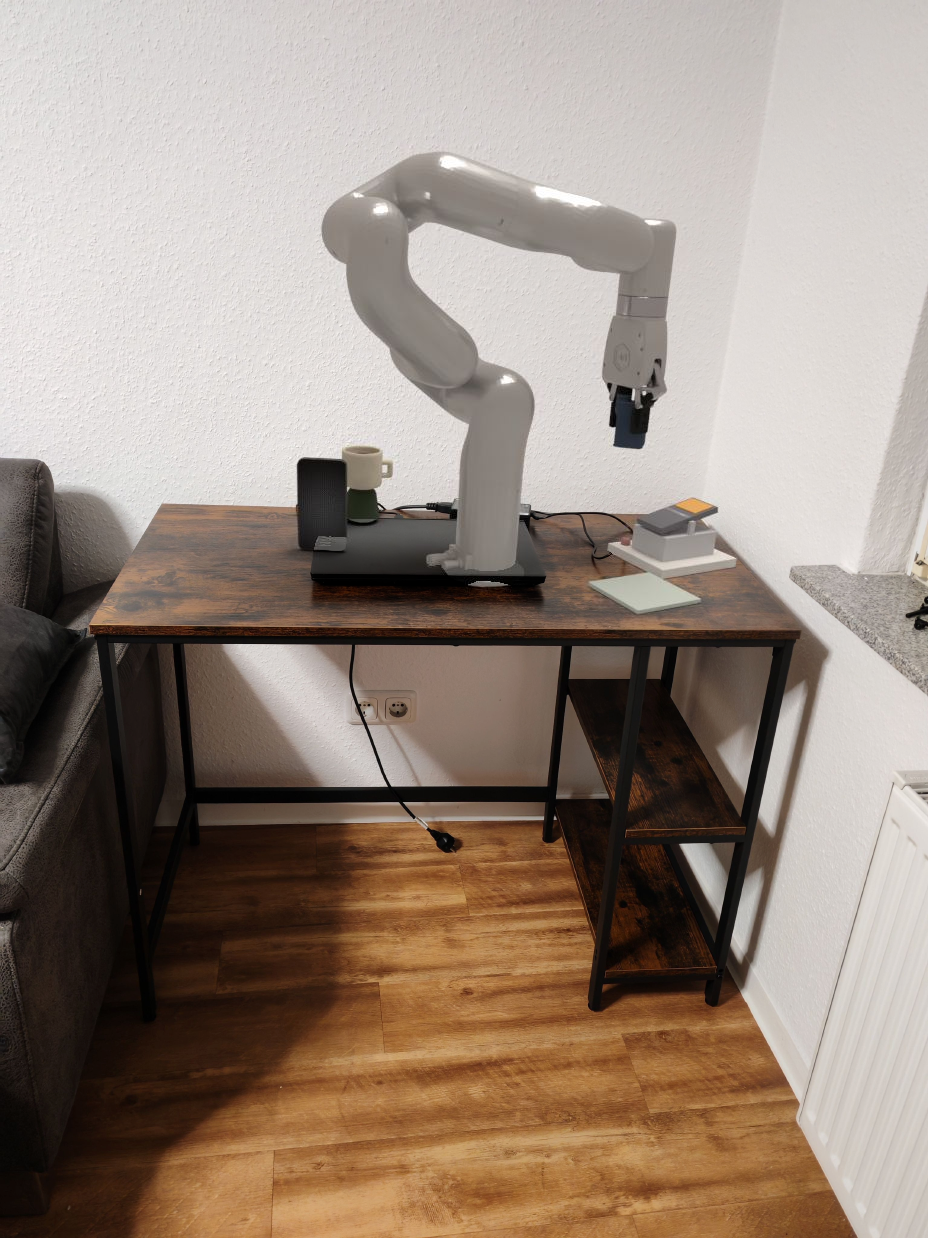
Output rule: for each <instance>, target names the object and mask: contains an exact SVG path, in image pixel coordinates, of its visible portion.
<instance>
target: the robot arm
mask: <svg viewBox="0 0 928 1238" xmlns="http://www.w3.org/2000/svg"><path fill="white" fill-rule="evenodd" d="M427 223H429V224H430V223H431V224H437V225H441V226H445V227H449V228H451V229H454V230H458V231H461V232H462V233H467V234H470V235H474V236H477V237H480V238H483V239H485V240H489V241H491V242H495V243H497V244H501V245H504V246H506V247H510V248H513V249H517V250H518V249H519V250H523V251H526V252H527V251H528V252H533V253H544V254H554V255H560V256H564V257H568V258H570V259H571V260H572V261H573V262H574V264H576V265H577V266H578V267H580V268H582V269H584V270H586V271H587V270H588V271H591V272H592V271H593V272H600V273H611V274H616V275H619V277H618V279H619V280H618V287H617V298H616V299H617V300H616V308H615V315H612V318H611V321H610V324H609V328H608V331H607V337H606V342H605V347H604V355H603V361H602V366H601V367H602V368H601V369H602V371H601V378H602V380H603V382H604V384H605V385H606V388H607V389H606V390H607V391H608V394H609V396H608V400H609V401H610V409H609V410H610V411H609V421H608V427H610V428H613V429H614V428H616V419H617V416H616V413H615V406H616V400H617V390H618V385H621V386H625V387H629V388H633V390H634V398H635V406H636V408H632V414H631V423H630V433H631V434H643V433H646V434H647V433H648V432H649V431H648V430H649V426H650V425H649V423H650V415H651V409H652V408H654V407H655V403H656V402H657V401H658V400H659V398H661V397H662V396H663V395H665V394H666V393H667V391H668V389H667V385H666V382H665V374H666V368H667V357H668V356H667V355H668V321H667V312H668V304H669V294H670V287H671V279H672V273H673V263H674V257H675V248H676V247H675V246H676V241H677V239H676V238H677V226H676V223H674V222H673V221H672V220H669V219H663V218H642V217H640V216H638V215H637V214H634V213H632V212H628V211H627V210H623V209H621V208H618V207H616V206H613V205H610V204H606V203H604V202H601V201H598V200H594V199H591V198H588V197H584V196H581V195H577V194H574V193H570V192H567V191H564V190H560V189H558V188H555V187H551V186H549V185H545V184H541V183H538V182H535V181H532V180H528V179H526V178H523V177H520V176H518V175H514V174H512V173H508V172H506V171H503V170H500V169H498V168H495V167H493V166H490V165H487V164H485V163H481V162H479V161H477V160H474V159H471V158H468V157H465V156H463V155H460V154H457V153H453V152H450V151H434V152H425V153H424V152H423V153H418V154H413V155H411V156H409V157H407V158H404V159H403V160H401V161H400V162H398V163H396V164H395V165H393V166H391V167H389V168H388V169H386V170H384V171H383V172H381V173H380V174H378V175H376V176H375V177H373V178H371V179H370V180H368V181H366V182H365V183H363V184H361V185H359V186H357V187H356V188H354V189H352V190H350V191H349V192H347V193H346V194H344V195H343V196H341V197H339V198H337V199H336V200H335V201H334V202H332V204H331V205H330V206H329V207H328V208H327V209H326V212H325V214H324V215H323V218H322V221H321V238H322V242H323V245H324V247H325V249H326V250H327V251H328V253H329V254H330V255H331V256H332V257H333V258H334V259H335V260H337V261H338V262H340V263H341V264H343V265H345V266H346V268H345V269H346V270H345V275H346V284H347V289H348V294H349V297H350V301H351V304H352V307H353V309H354V311H355V313H356V315H357V316H358V318H359V319H360V321H361V323H363V324H364V326H366V327H367V329H368V330H370V332H371V333H372V334H373V335H374V336H375V337H377V338H378V339H379V340H380V341H381V342H382V343H383V344H384V345H385V346H387V348H388V349H389V355H390V358H391V360H392V363H393V364H394V366H395V367H396V369H397V370H398V371H399V373H400V374H401V375H402V376H403V377H405V378H406V380H408V381H409V382H410V383H412V384H413V385H414V386H415V387H416V388H418V389H419V390H420V391H421V392H422V393H423V394H424V395H426V396H427V397H428V398H429V399H430V400H432V401H433V402H434V403H435V404H436V405H437V406H439V407H441V409H443V410H444V411H445V412H446V413H448V414H449V415H451V417H454V418H455V419H457V420H459V421H461V422H463V423H465V424H467V425H468V428H467V432H466V435H465V439H464V441H463V444H462V449H461V452H460V460H459V471H458V472H459V473H458V474H459V475H458V476H459V480H458V495H457V496H458V497H457V510H456V511H457V516H456V531H455V532H456V533H455V543H450V544H449V547H448V548H449V549H448V550H445V551H444V553H443V552H442V553H431V554H427V555H426V557H425V558H426V560H425V561H426V565H427V564H429V565H430V566H434V567H436V566H435V565H441V564H442V565H441V569H442V568H443V569H444V570H447V569H452V568H464V569H465V570H467V569H475V570H479V571H498V570H504V569H507V568H510V567H512V566H513V565H514V564H515V561H516V559H517V550H518V549H517V548H518V547H517V546H518V536H519V535H518V534H519V523H520V522H519V521H520V511H521V502H522V501H521V500H522V491H523V490H522V488H523V474H524V466H525V465H524V464H525V457H526V456H525V455H526V448H527V443H528V439H529V435H530V431H531V428H532V423H533V420H534V415H535V408H536V407H535V406H536V405H535V403H536V401H535V400H536V399H535V395H534V392H533V389H532V387H531V386H530V384H529V382H528V381H527V380H526V379H525V378H524V377H523V376H522V375H521V374H520V373H518V372H517V371H514V370H513V369H511V368H507V367H506V366H505V367H504V366H501V365H499V364H495V363H492V362H488V361H485V360H483V359H482V358H481V357H480V356H479V351H478V347H477V344H476V342H475V340H474V339H473V337H472V336H471V334H470V332H468V331H467V329H465V327H464V326H462V325H461V324H460V323H458V322H457V321H456V320H455V319H454V318H452V317H451V316H450V315H449V314H448V313H447V312H445V310H443V309H442V308H441V307H440V306H439V305H438V304H437V303H435V302H434V301H433V299H431V297H429V296H428V295H427V294H426V293H425V292H424V291H423V290H422V288H421V287H420V286H418V284H417V283H416V282H415V280H414V279H413V276H412V274H411V272H410V268H409V258H408V257H409V256H408V255H409V254H408V253H409V245H410V244H409V243H410V241H409V240H410V238H409V237H410V235H409V234H410V233H412V232H414V231H415V230H417V229H418V228H420V227H421V226H422V225H424V224H427ZM644 392H645V394H644ZM643 395H645V396H644V397H643ZM443 569H442V570H443ZM444 570H443V571H444ZM468 586H471V587H479V588H487V587H503V586H509V585H508V584H504V583H500V582H491V581H476V582H474V583H471V584H468Z"/></svg>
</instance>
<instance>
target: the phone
mask: <svg viewBox="0 0 928 1238" xmlns="http://www.w3.org/2000/svg"><path fill="white" fill-rule="evenodd" d="M347 492H348V487H347V463H346V462H345V461H344V460H343V459H342V458H331V457H330V458H327V457H325V458H324V457H307V456H306V457H305V456H304V457H300V458H299V459H298V461H297V463H296V497H297V498H296V501H297V502H296V504H297V510H296V511H297V519H296V520H297V523H296V524H297V544H298V547H299V548H300V549H301V550H303V551H313V550H314V547H315V543H316V540H317V538H318V536H326V537H329V536H331V537H346V538H347V539H348V520H347Z"/></svg>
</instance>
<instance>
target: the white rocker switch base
mask: <svg viewBox="0 0 928 1238" xmlns="http://www.w3.org/2000/svg"><path fill="white" fill-rule="evenodd" d="M632 531H633V532H632V536H631V537H632V538H630V537H627V536H622V537H621V541H615V542H608V544H607V551H609V552H611V553H612V554H611V553H610V554H611V555H614V556H616V557H617V558H619V559H621V560H623V561H625V562H626V563H627V562H628V563H629V564H631V565H633V566H635V567H636V568H639V569H641V570H643V571H645V573H647V572H649V573H651V574H653V575H655V576H657V577H659V578H661V579H663V580H666V579H670V578H676V577H684V576H689V575H695V574H701V573H706V572H714V571H719V570H726V569H732V568H735V567H736V565H737V560H738V558H737V557H734V556H732V555H730V554H728V553H725V552H723V551H720V550H718V549H716V548H715V544H716V539H717V534H718V532H717V531H716V530H714V529H712V528H708V527H706V526H704V525H702V524H699V523H697V521H689V523H688V524H687V525H684V526H682V527H679V528H676V529H674V530H671V531H669V532H666V533H663V534H659V533H657V532H655V531H653V530H650V529H648V528H646V527H644V526H642V525H639V524H637V523H635V524H633V530H632ZM609 552H608V553H609Z"/></svg>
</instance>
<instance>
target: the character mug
mask: <svg viewBox="0 0 928 1238" xmlns="http://www.w3.org/2000/svg"><path fill="white" fill-rule="evenodd" d="M383 454H384V453H383V449H382V448H380V447H377V446H371V445H362V444H361V445H360V444H359V445H358V444H357V445H349V446H348V445H347V446H344V447H342V450H341V459H343V460H344V461H345V462H346V463H347V488H348V489H347V518H351V519H378V518H380V515H379V503H378V496H377V495H378V494H377V492H376V489H377V488H379V487H381V485H382V484H383V483H382V481H383V479H390V478H393V473H394V462H393V460H392V459H383ZM383 466H386V467H387V470H386V472H383ZM378 520H379V519H378Z"/></svg>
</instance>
